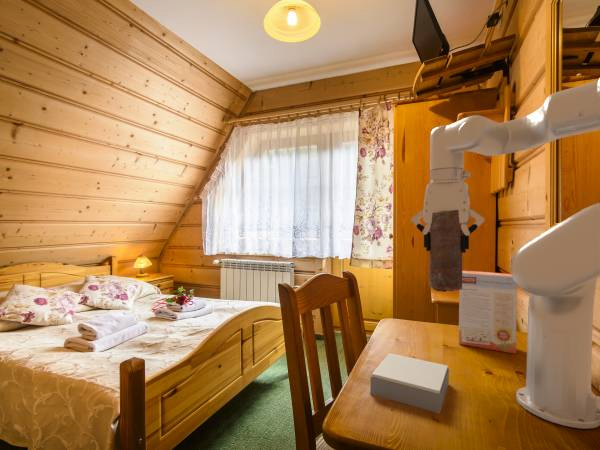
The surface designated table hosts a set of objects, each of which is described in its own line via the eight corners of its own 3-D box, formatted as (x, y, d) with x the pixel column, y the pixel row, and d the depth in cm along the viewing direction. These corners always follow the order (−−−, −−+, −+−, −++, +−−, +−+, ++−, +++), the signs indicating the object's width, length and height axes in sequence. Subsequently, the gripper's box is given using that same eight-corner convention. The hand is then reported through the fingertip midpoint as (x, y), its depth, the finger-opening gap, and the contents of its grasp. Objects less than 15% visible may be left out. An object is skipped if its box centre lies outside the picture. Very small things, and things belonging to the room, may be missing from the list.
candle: (467, 295, 75) (467, 207, 76) (433, 294, 76) (433, 208, 77) (456, 289, 83) (456, 209, 83) (426, 288, 84) (426, 210, 84)
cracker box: (515, 348, 93) (516, 273, 93) (516, 355, 88) (517, 276, 87) (459, 338, 100) (461, 269, 100) (458, 344, 95) (459, 271, 95)
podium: (448, 384, 71) (448, 365, 71) (440, 413, 60) (440, 391, 60) (388, 369, 77) (388, 352, 77) (370, 393, 66) (370, 373, 66)
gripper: (488, 178, 79) (487, 252, 79) (412, 182, 87) (412, 249, 87) (487, 173, 72) (486, 254, 72) (406, 178, 81) (405, 250, 81)
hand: (445, 251), depth 80 cm, fingers closed on candle, 7 cm apart
